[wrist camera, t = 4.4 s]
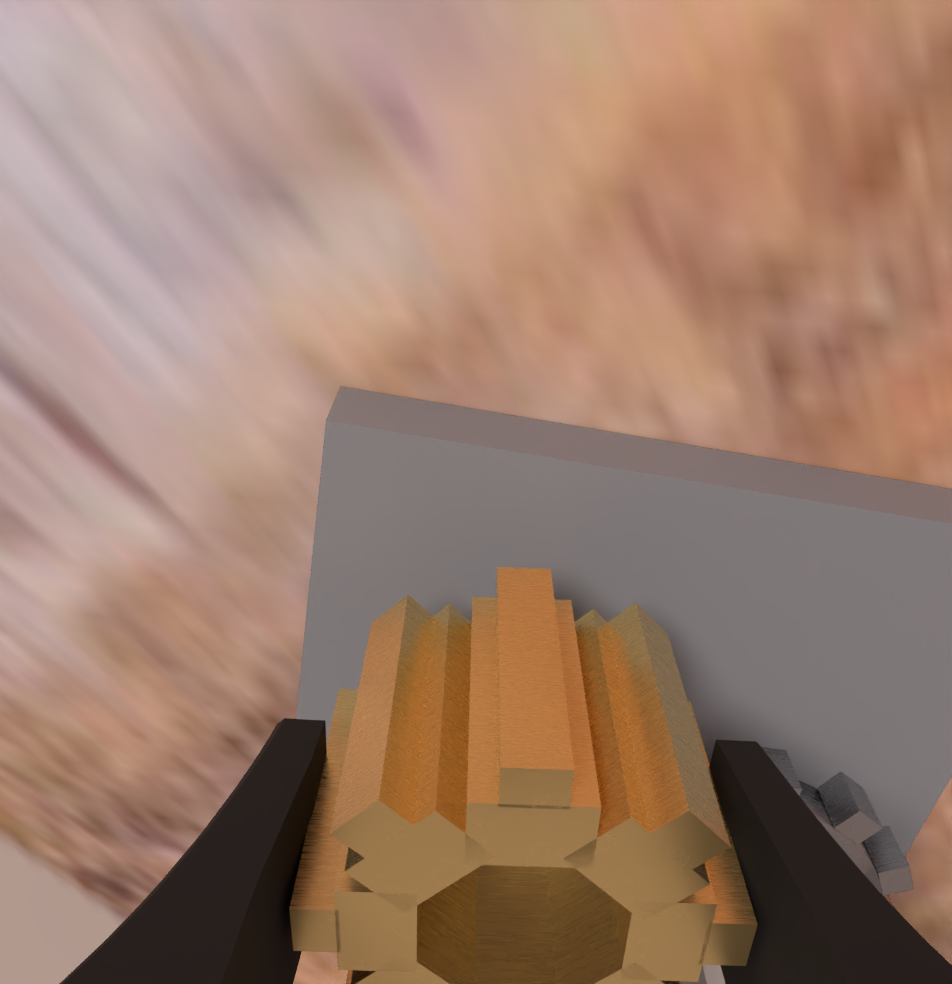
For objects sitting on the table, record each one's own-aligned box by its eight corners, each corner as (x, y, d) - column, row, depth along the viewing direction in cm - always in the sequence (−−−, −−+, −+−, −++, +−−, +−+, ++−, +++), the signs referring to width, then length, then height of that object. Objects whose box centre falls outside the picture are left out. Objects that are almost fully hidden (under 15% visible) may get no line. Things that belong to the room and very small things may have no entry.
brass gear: (715, 575, 13) (799, 778, 9) (663, 840, 16) (713, 1076, 12) (332, 561, 13) (274, 759, 9) (346, 829, 16) (304, 1062, 12)
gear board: (1039, 503, 16) (1218, 658, 12) (798, 944, 22) (864, 1144, 18) (340, 386, 15) (287, 512, 11) (287, 878, 21) (240, 1072, 17)
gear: (952, 774, 17) (978, 814, 16) (817, 1003, 21) (832, 1045, 20) (579, 720, 17) (584, 758, 16) (505, 963, 20) (506, 1006, 19)
